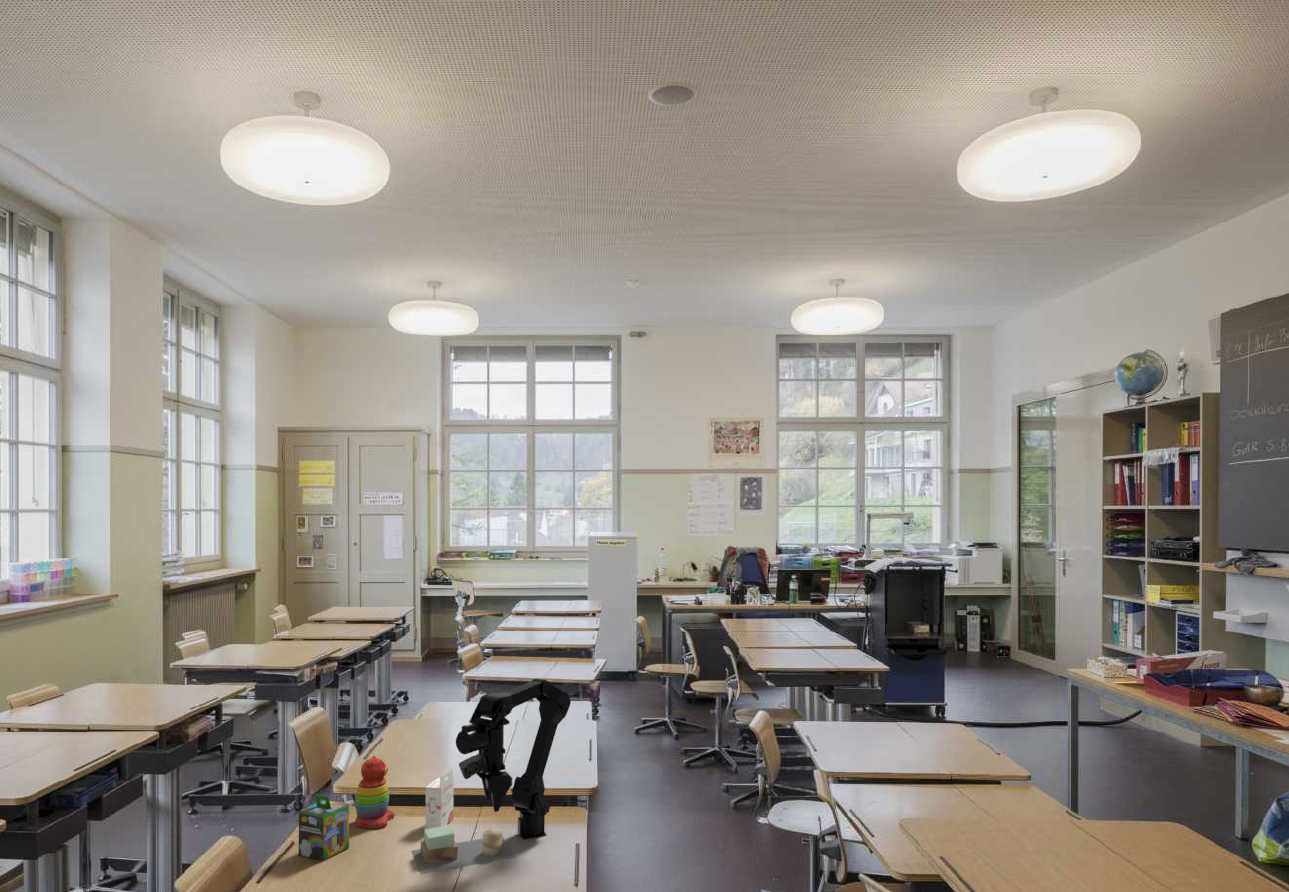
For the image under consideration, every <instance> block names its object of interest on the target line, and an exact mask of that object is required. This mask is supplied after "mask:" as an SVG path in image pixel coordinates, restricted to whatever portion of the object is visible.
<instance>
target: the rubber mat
mask: <svg viewBox="0 0 1289 892" xmlns="http://www.w3.org/2000/svg"><path fill="white" fill-rule="evenodd" d="M455 843H456V844H457V846H458V859H454V860H448V861H442V862H437V863H431V864H425V862H424V860H423V857H422V855H421V848H420V849H413V850H411V853H412V855H413V856H412V857H413V858H414V861H415V863H416V866H417V868H418V871H419V873H420V875H424V874H429V873H434V872H435V873H436V872H439V871H440V872H441V871H446V870H450V869H451V870H452V869H458V868H462V867H466V866H467V867H469V866H473V865H474V866H475V865H479V864H485V863H490V862H496V861H501V860H506V859H512V858H517V856H516V854H515V852H513V850H512V848H511V847H510V845H509V844H508V842H507V841H506V840H505V838H504V837H503V836H502V853H501V854H500V855H498V856H494V857H487V856H484V855H483V838H480V839H472V840H466V841H461V842H455Z"/></svg>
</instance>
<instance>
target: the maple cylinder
mask: <svg viewBox="0 0 1289 892" xmlns="http://www.w3.org/2000/svg"><path fill="white" fill-rule="evenodd" d="M502 837H503V831H502V830H501V829H499V828H498V829H497V828H491V829H487V830H485V831H483V832H482V839H483V855H484V856H487V857H494V856H498V855H500V854H501V853H502Z"/></svg>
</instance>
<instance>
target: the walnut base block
mask: <svg viewBox="0 0 1289 892" xmlns="http://www.w3.org/2000/svg"><path fill="white" fill-rule="evenodd" d="M456 843H457V842H456V841H455V840H454V846H452V847H446V848H440V849H434V850H429V851H428V849H427V846H426V844H425V842H424V839H421V840H420V849H421V855H422V857H423V860H424V862H425V864H431V863H437V862H442V861H448V860H454V859H458V846H457V844H456Z"/></svg>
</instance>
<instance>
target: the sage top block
mask: <svg viewBox="0 0 1289 892" xmlns="http://www.w3.org/2000/svg"><path fill="white" fill-rule="evenodd" d="M423 831H424V833H423V836H424V837H423V840H424V842H425V844H426V846H427V849H428V851H429V850H434V849H440V848H446V847H452V846H454V841H455V833H454V830H453V829H452V827H451V825H450V824H447V825H445V826H441V827H434V828H424V829H423Z"/></svg>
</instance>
